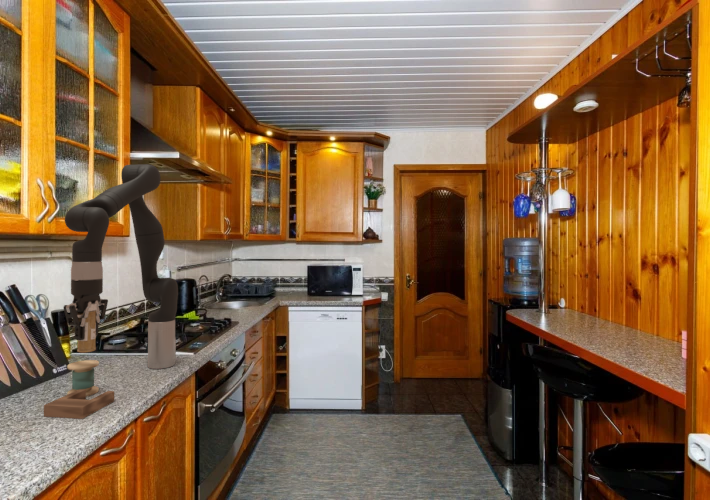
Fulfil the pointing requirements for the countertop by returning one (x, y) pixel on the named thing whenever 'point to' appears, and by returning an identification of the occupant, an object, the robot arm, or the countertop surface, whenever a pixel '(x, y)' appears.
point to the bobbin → (83, 376)
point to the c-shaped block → (77, 405)
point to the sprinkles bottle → (89, 332)
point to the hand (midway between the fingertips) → (86, 337)
